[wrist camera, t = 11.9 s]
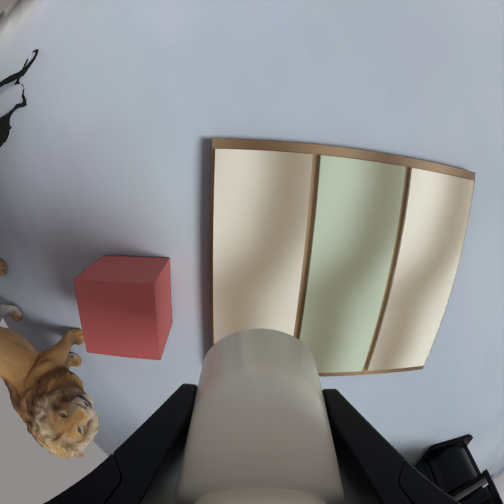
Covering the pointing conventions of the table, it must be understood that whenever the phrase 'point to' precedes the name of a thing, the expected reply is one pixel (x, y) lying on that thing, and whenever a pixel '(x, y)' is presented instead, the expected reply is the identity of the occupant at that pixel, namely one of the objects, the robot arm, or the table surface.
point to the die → (125, 306)
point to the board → (335, 249)
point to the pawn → (259, 426)
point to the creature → (2, 124)
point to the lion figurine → (47, 388)
